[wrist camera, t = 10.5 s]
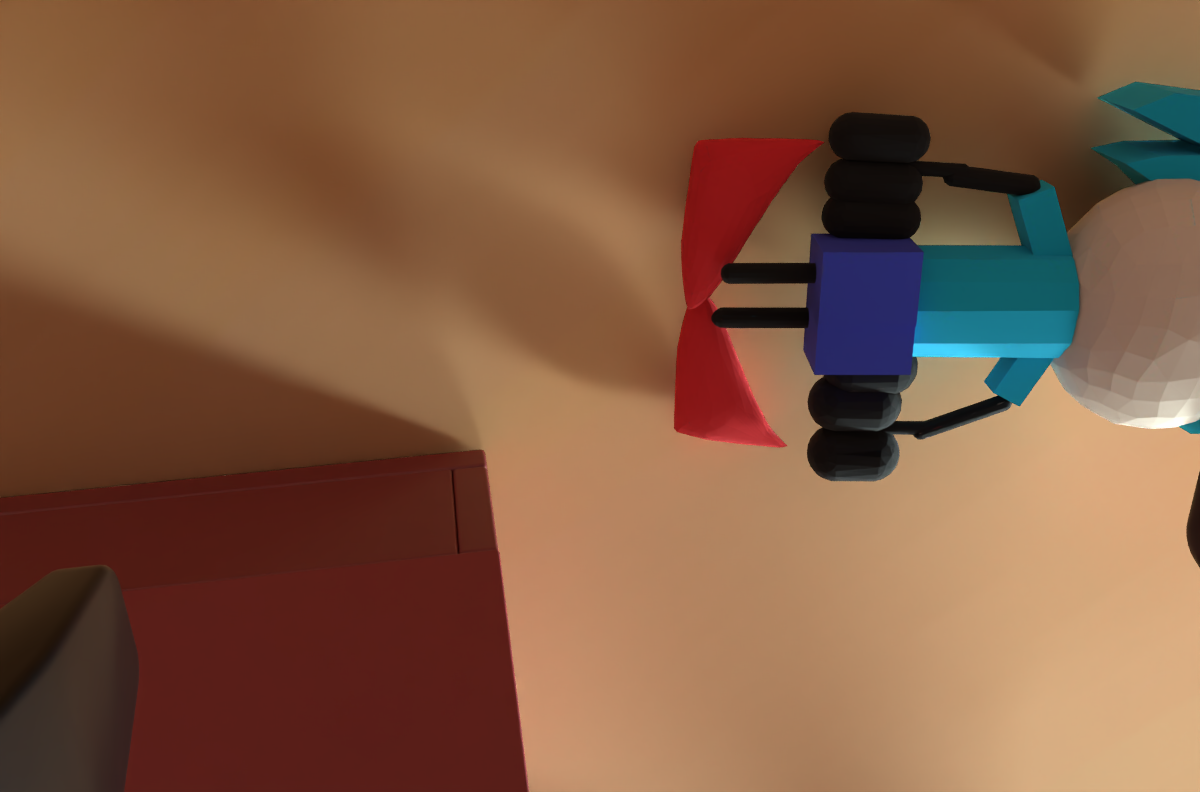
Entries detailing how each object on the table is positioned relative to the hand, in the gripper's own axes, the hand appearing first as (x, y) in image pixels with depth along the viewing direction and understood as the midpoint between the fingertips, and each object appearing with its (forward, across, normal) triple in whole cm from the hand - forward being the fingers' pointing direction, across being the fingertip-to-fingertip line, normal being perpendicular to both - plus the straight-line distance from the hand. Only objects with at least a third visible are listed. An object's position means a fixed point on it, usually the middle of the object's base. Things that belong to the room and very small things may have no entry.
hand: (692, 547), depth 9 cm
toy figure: (+13, -10, +3) cm, 17 cm away
